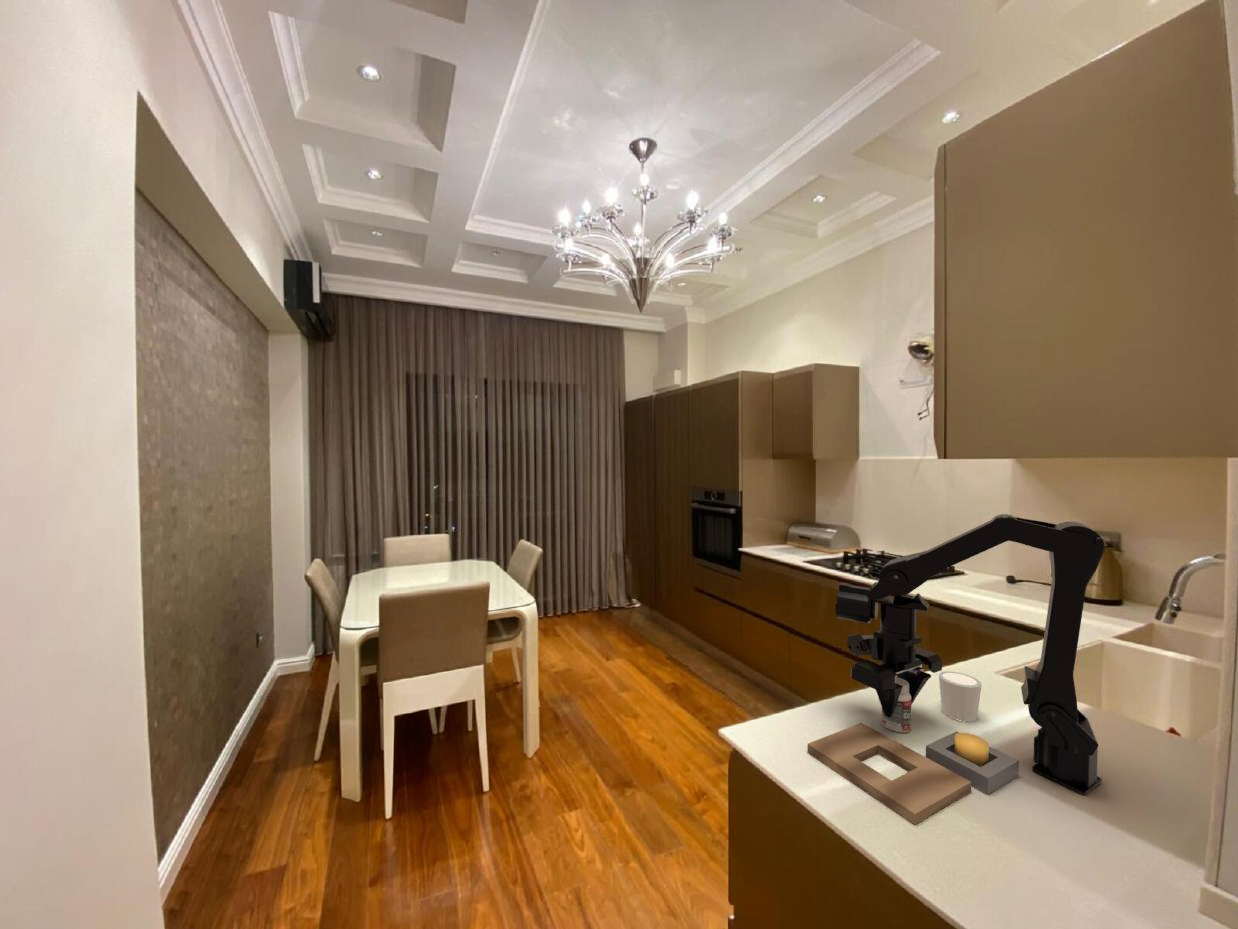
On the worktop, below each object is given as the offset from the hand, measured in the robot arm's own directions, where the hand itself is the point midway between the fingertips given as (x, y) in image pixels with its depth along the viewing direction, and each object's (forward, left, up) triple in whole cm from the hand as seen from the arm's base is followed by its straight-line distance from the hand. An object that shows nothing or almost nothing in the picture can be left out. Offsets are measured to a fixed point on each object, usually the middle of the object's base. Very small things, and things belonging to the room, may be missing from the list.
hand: (896, 712), depth 90 cm
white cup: (-3, -15, -3) cm, 16 cm away
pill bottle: (0, 0, -3) cm, 3 cm away
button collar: (-13, +1, -2) cm, 13 cm away
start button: (-13, +1, -1) cm, 13 cm away
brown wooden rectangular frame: (-7, +14, -2) cm, 16 cm away
